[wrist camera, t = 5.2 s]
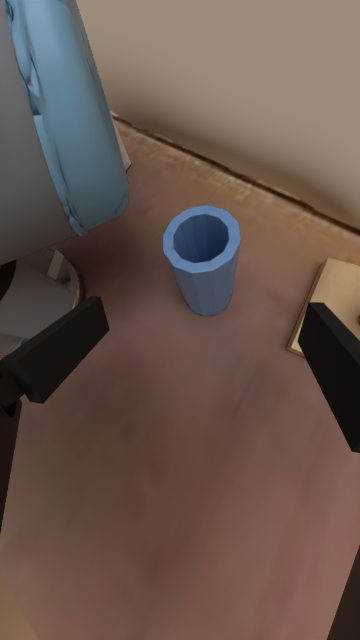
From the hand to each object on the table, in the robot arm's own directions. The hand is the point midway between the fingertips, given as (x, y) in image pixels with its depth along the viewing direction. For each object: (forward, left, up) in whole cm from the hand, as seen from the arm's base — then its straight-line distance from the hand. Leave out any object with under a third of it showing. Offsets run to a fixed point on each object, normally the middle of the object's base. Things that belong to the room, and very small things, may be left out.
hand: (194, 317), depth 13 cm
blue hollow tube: (-2, +6, -11) cm, 13 cm away
